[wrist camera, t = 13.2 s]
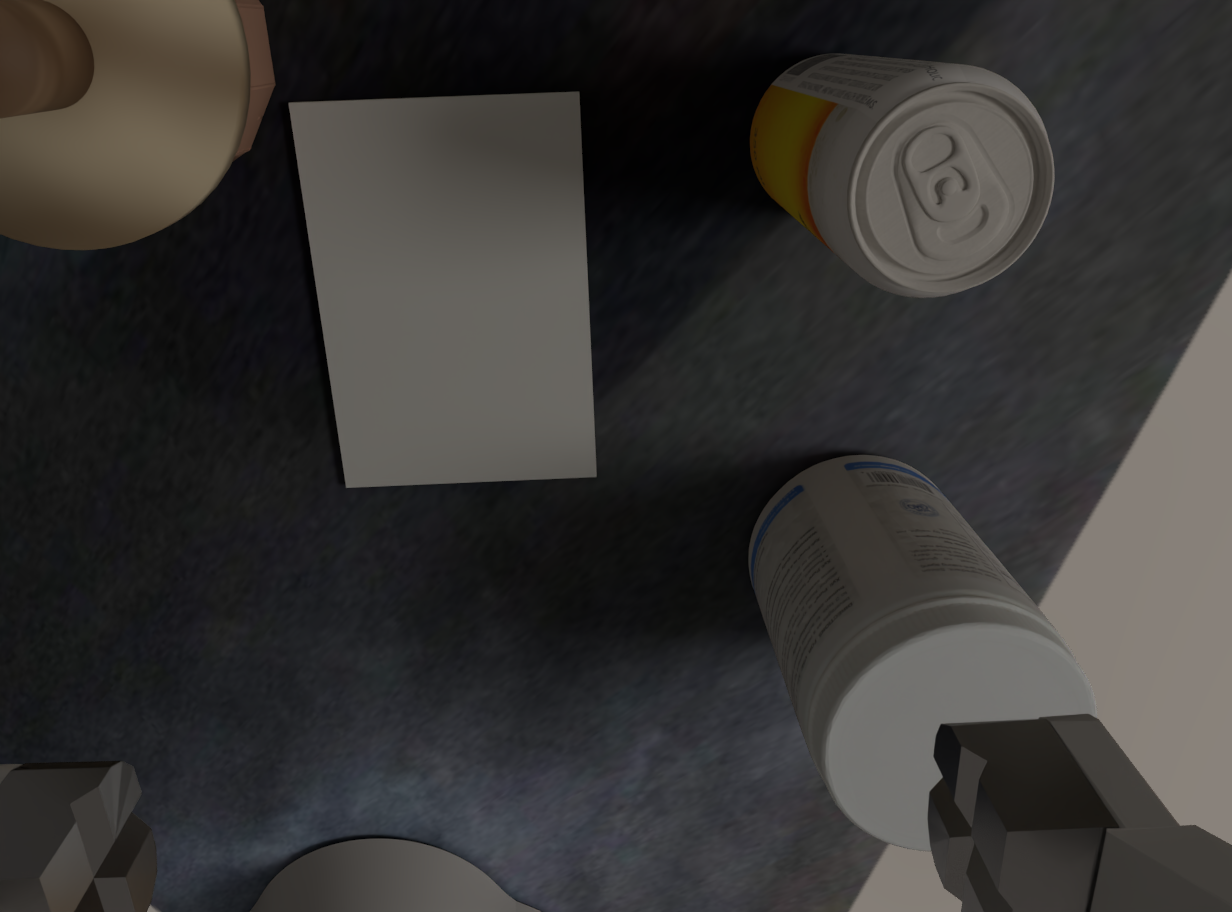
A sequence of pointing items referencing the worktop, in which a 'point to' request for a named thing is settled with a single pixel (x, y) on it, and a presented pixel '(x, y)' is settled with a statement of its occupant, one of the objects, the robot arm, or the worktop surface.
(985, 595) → the supplement tub
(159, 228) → the lid
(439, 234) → the mat
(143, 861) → the robot arm
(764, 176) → the beer can
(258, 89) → the bowl
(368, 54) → the worktop surface
